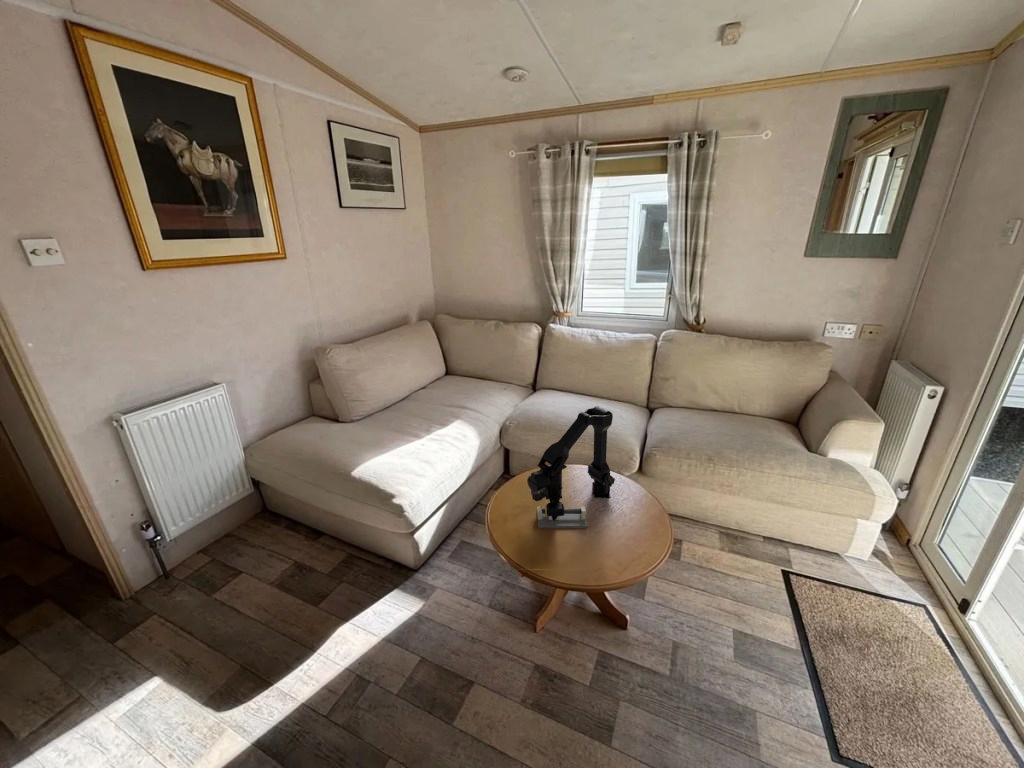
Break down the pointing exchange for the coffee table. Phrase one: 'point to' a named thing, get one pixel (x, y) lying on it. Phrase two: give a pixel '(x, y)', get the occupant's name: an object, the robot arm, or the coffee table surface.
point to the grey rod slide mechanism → (563, 518)
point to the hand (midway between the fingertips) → (553, 515)
